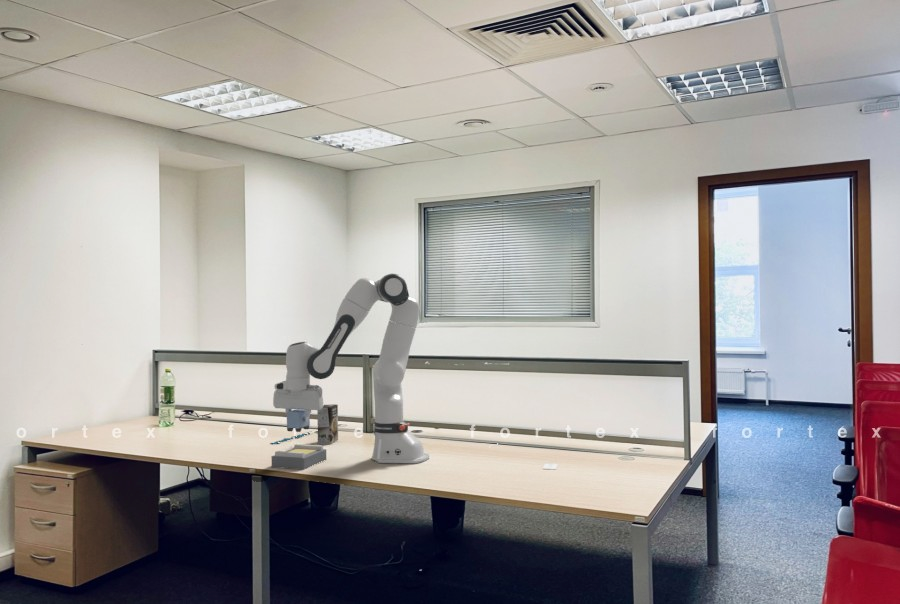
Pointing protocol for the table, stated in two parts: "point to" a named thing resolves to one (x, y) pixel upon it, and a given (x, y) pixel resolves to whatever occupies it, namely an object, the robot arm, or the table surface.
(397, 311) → the robot arm
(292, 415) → the cart
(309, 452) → the dock
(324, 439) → the coffee box
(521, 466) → the table surface
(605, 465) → the table surface
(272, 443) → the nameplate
